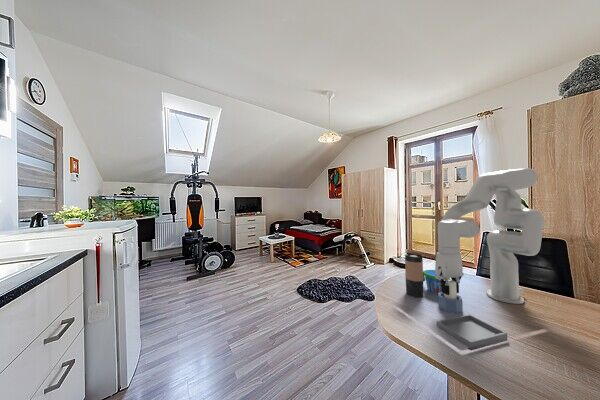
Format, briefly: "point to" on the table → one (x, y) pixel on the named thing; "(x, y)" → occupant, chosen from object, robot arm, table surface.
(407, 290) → the travel mug
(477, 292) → the table surface
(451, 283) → the peg
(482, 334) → the tray
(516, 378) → the table surface
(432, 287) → the snack cup
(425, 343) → the table surface
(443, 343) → the table surface
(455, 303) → the cup
